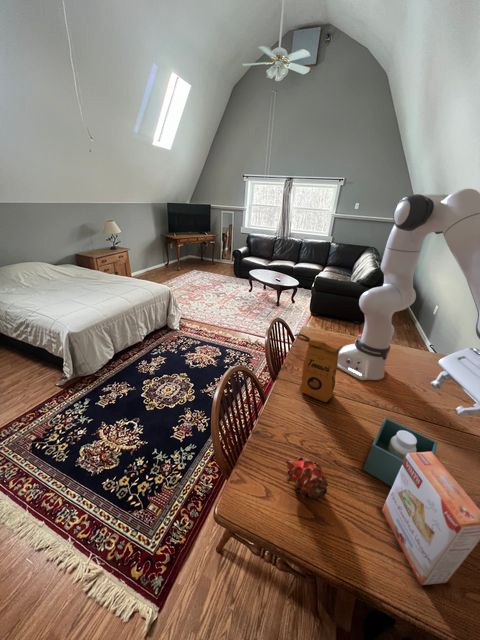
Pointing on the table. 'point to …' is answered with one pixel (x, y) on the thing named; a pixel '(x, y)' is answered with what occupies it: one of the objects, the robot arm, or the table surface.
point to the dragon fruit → (307, 477)
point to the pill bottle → (402, 444)
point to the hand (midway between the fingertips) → (444, 399)
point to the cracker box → (431, 518)
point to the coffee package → (319, 370)
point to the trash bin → (385, 462)
